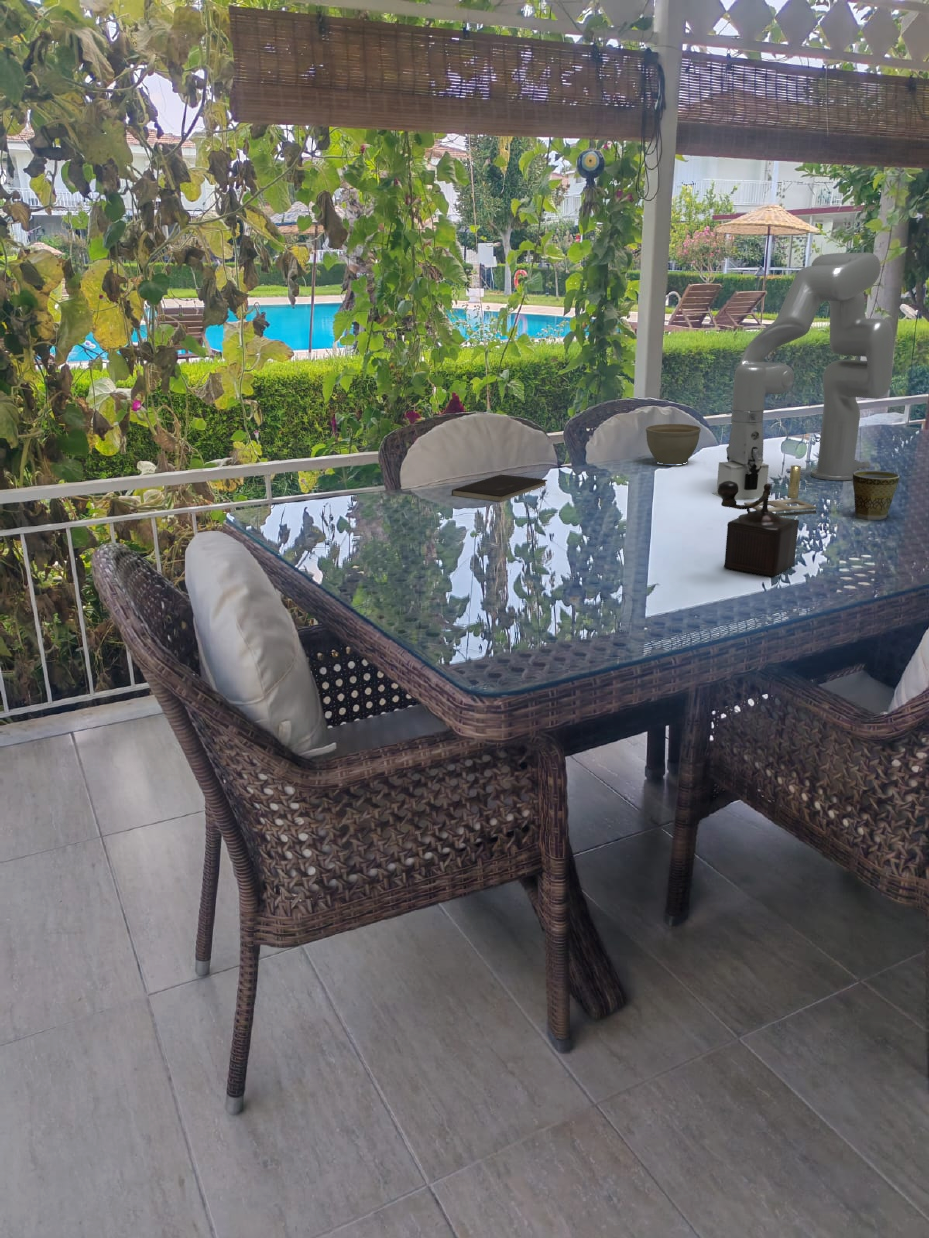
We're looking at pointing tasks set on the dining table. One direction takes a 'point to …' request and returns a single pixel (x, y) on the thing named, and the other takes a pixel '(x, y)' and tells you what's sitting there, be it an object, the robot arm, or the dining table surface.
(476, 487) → the hardcover book
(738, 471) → the block
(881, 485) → the ceramic cup
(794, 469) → the brass pin
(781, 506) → the board
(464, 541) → the dining table surface
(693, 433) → the planter bowl
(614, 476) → the dining table surface
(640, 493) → the dining table surface
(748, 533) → the manual coffee grinder
